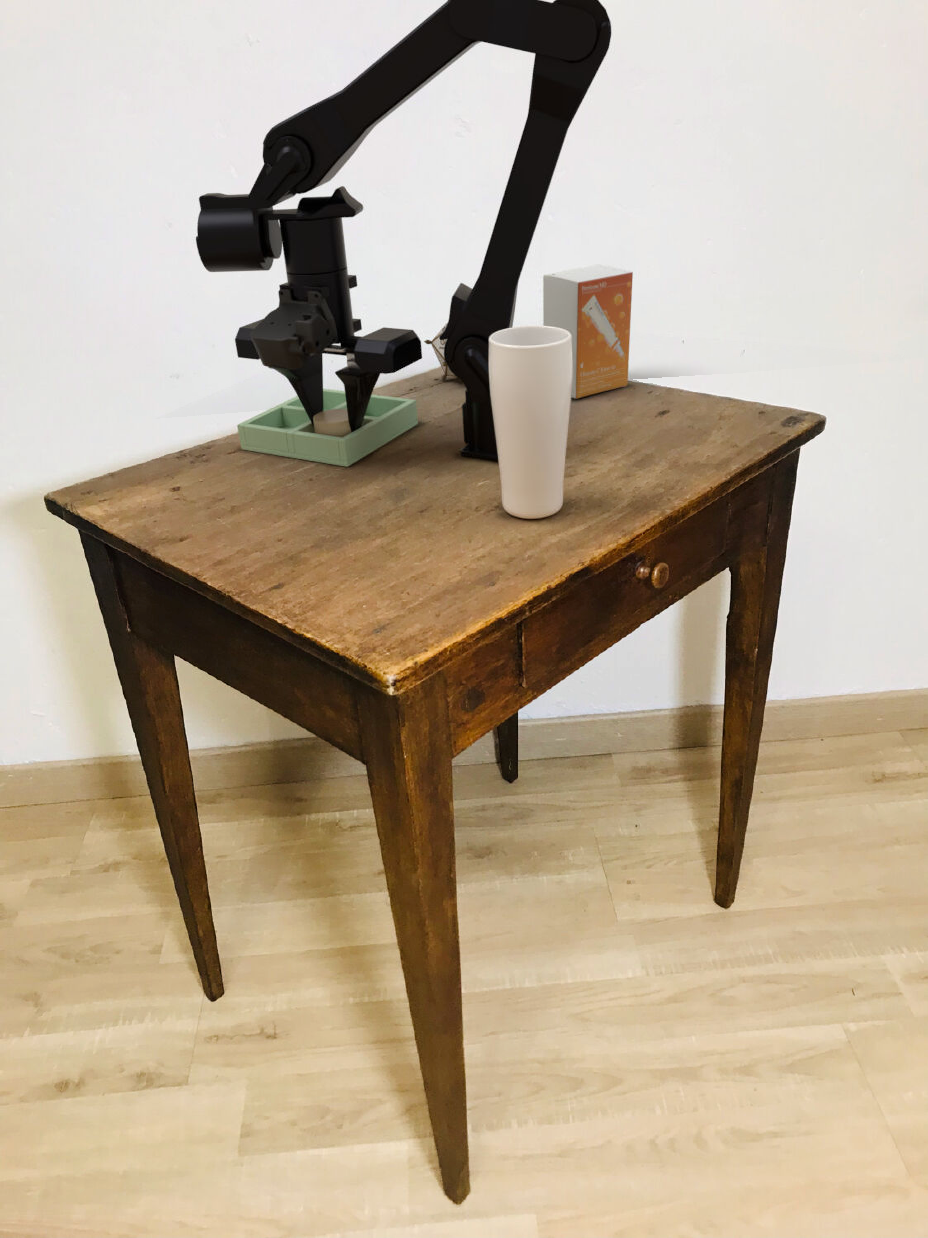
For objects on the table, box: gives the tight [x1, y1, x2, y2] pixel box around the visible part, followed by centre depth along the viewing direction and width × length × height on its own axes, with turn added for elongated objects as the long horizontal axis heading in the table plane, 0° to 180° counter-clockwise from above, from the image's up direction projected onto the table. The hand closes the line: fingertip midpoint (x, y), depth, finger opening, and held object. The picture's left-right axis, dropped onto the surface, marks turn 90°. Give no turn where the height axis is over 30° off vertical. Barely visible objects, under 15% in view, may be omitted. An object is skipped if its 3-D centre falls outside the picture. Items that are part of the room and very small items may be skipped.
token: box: [313, 409, 352, 438], centre depth 97 cm, size 4×4×2 cm
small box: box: [542, 264, 634, 400], centre depth 109 cm, size 8×6×13 cm
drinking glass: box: [488, 325, 573, 520], centre depth 79 cm, size 7×7×15 cm
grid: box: [236, 388, 419, 468], centre depth 101 cm, size 14×14×3 cm
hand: (336, 428), depth 97 cm, fingers closed on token, 4 cm apart
